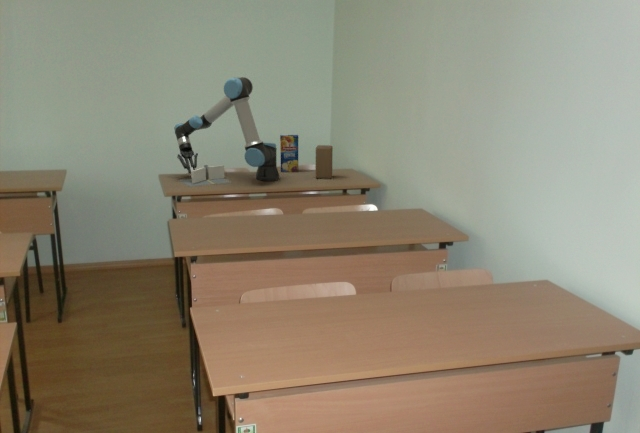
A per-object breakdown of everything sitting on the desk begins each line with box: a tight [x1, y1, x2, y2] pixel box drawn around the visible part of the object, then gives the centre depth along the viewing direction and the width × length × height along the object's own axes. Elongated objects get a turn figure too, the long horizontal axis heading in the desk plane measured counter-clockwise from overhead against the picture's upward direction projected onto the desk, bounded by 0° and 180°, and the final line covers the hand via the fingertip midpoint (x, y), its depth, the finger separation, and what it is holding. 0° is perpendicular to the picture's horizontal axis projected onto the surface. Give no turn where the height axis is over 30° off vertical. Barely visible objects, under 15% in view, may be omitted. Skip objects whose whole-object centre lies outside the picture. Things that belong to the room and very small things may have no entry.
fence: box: [203, 164, 225, 180], centre depth 391 cm, size 12×2×9 cm, turn 117°
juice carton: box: [279, 134, 299, 173], centre depth 420 cm, size 12×8×24 cm, turn 94°
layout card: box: [179, 177, 233, 187], centre depth 386 cm, size 27×22×1 cm
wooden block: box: [315, 144, 334, 180], centre depth 400 cm, size 10×10×20 cm
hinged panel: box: [191, 167, 206, 183], centre depth 382 cm, size 13×1×8 cm, turn 157°
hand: (193, 177), depth 380 cm, fingers closed
